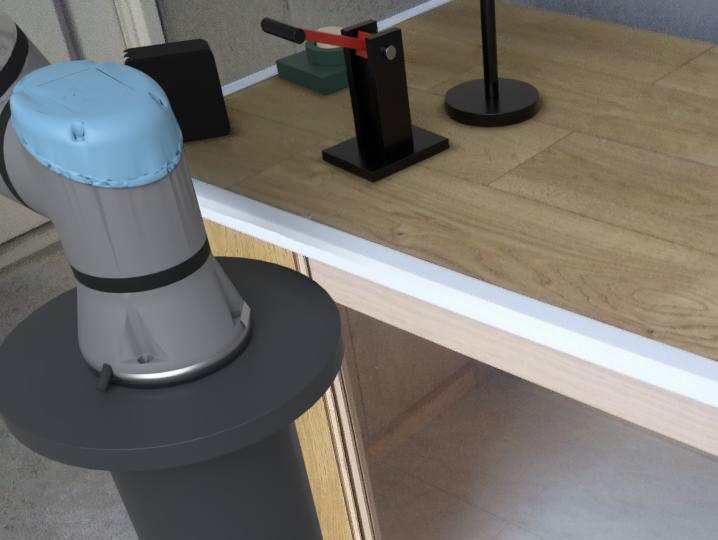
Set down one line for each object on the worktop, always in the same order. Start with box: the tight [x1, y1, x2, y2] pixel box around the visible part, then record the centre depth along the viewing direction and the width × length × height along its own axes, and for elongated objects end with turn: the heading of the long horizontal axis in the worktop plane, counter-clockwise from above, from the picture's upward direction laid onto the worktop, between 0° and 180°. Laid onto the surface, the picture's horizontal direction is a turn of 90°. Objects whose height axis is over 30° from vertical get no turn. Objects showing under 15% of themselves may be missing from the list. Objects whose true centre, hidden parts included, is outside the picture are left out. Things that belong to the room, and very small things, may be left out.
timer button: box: [315, 25, 344, 48], centre depth 132 cm, size 4×4×2 cm
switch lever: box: [260, 16, 373, 58], centre depth 104 cm, size 14×6×2 cm, turn 138°
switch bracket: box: [321, 18, 450, 183], centre depth 112 cm, size 12×9×14 cm
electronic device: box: [121, 38, 232, 144], centre depth 118 cm, size 4×10×10 cm, turn 112°
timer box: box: [275, 41, 349, 96], centre depth 134 cm, size 12×10×4 cm
